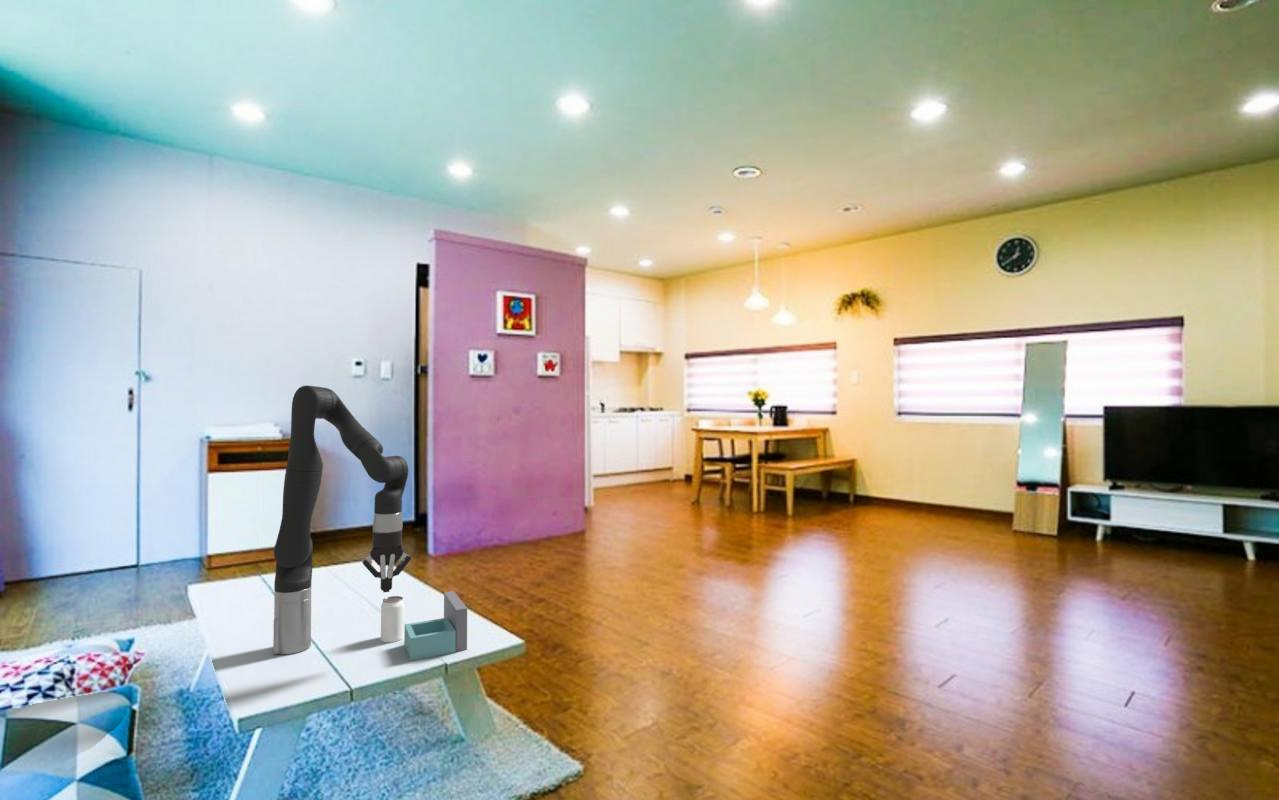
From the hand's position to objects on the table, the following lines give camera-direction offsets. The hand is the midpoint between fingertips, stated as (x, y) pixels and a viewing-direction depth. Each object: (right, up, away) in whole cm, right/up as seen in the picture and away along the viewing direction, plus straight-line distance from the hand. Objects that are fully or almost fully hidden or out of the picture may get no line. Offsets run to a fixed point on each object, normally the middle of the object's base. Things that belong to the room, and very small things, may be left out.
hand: (386, 591), depth 168 cm
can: (-4, -19, +13) cm, 23 cm away
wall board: (+15, -19, +13) cm, 27 cm away
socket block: (+10, -18, +6) cm, 22 cm away
